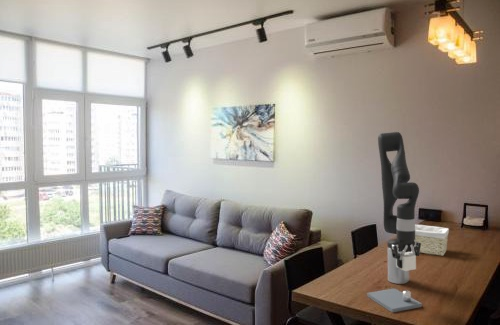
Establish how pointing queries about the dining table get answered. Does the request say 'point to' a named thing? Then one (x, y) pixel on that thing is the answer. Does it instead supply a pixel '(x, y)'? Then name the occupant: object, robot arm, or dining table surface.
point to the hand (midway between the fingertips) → (406, 266)
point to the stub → (406, 296)
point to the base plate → (393, 300)
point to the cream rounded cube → (408, 262)
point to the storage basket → (431, 239)
